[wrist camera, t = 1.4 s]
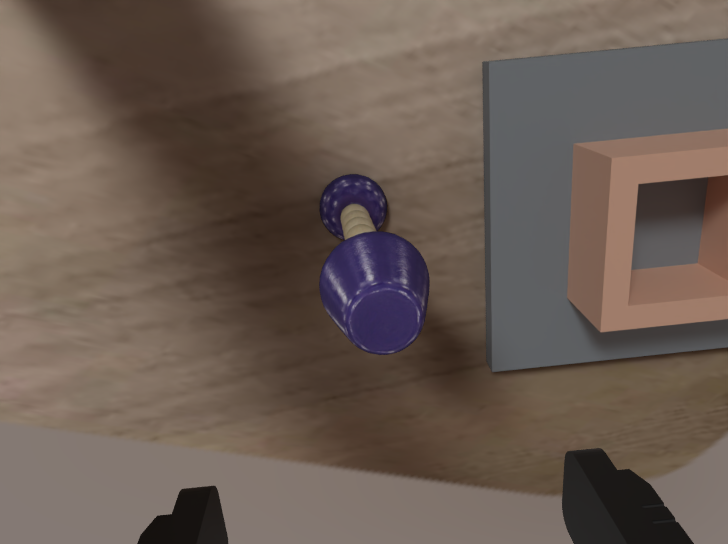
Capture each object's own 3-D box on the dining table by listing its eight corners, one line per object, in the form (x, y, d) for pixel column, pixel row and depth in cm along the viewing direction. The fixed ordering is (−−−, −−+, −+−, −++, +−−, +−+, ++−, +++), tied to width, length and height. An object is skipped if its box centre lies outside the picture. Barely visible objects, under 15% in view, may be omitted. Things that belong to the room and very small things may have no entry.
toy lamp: (375, 157, 35) (410, 239, 20) (408, 221, 37) (465, 344, 21) (307, 193, 36) (289, 302, 20) (342, 255, 38) (351, 399, 22)
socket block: (482, 61, 34) (515, 63, 28) (817, 29, 34) (923, 24, 28) (486, 361, 41) (513, 414, 35) (763, 332, 41) (838, 380, 35)
